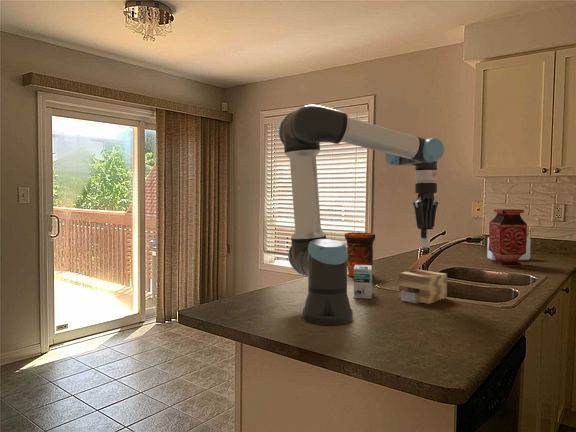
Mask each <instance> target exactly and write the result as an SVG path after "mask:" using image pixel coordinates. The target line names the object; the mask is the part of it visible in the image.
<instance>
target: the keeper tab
mask: <svg viewBox="0 0 576 432" xmlns="http://www.w3.org/2000/svg"><path fill="white" fill-rule="evenodd" d="M431 257H433V256H432V253H429V254H428V253H427V254H423V255H421V256H420V257H418V258H417V259H416V260H415V262H414V263H412V264H411V266H409V267H408V268H407V269H406V272H408V271H413V270H419V268H420V267H421V266H423V265H424V263H426V261H428V260H429V259H430V258H431Z"/></svg>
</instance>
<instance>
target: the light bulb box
mask: <svg viewBox="0 0 576 432" xmlns="http://www.w3.org/2000/svg"><path fill="white" fill-rule="evenodd" d="M372 275H373V264H372V265H355V266H354V276H353V298H354V299H369V300H370V299H373V277H372Z"/></svg>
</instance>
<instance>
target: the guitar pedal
mask: <svg viewBox="0 0 576 432" xmlns="http://www.w3.org/2000/svg"><path fill="white" fill-rule="evenodd" d="M531 240H532V239H531V238H530V237H529V236H527V243H526V254H524V255H522V256H521V257H520V258H519V260H518V261H528V260H530V259H531ZM486 253H487V255H486V257H487V259H488V260H491V261H493V260H496V258H495V256H494V255H493V253H492V252H491V251H490V250H489V237H487V252H486Z"/></svg>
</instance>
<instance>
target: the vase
mask: <svg viewBox="0 0 576 432" xmlns="http://www.w3.org/2000/svg"><path fill="white" fill-rule="evenodd" d="M493 213H496V214H495V216H494V218H493V219H492V220H490V221H489V233H488V234H489V236H488V238H489V250H490V251H491V252H492V253H493V255H494V256H495V258H496V260H491V263H492V264H494V265H496V266H499V267H522V263H521V262H518V261H520V260H519V258H520V257H521V256H522V255H524V254H526V243H527V237H528V235H527V234H528V224H527V222H526V221H525V220H524V219H523V217H522V216H521V214H524V213H525V209H521V208H520V209H518V208H515V209H513V208H505V209H504V208H494V209H493Z"/></svg>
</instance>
